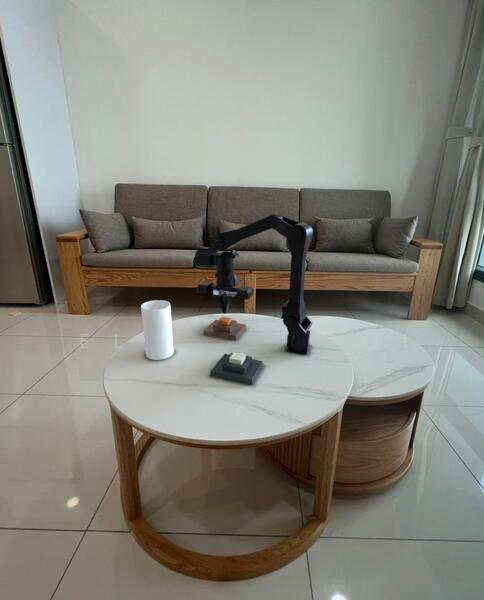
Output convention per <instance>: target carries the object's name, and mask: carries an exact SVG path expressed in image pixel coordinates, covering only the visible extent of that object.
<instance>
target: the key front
mask: <svg viewBox="0 0 484 600" xmlns="http://www.w3.org/2000/svg"><path fill="white" fill-rule="evenodd" d="M232 353H233V354H232V355H231V356H230V358H229V363H232V364H237V365H242V364H243V363H244V361H245V360H246V356H247V354H246V353H241V352H235V351H234V352H232Z"/></svg>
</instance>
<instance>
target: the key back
mask: <svg viewBox="0 0 484 600" xmlns="http://www.w3.org/2000/svg"><path fill="white" fill-rule="evenodd" d="M220 318H221V319H220ZM220 318H219V319H220V320H219V319H218V320H219V325H225V326H229V325H230V324H231V323H232V320H233V317H228V316H227V317H226V316H222V317H220Z"/></svg>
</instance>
